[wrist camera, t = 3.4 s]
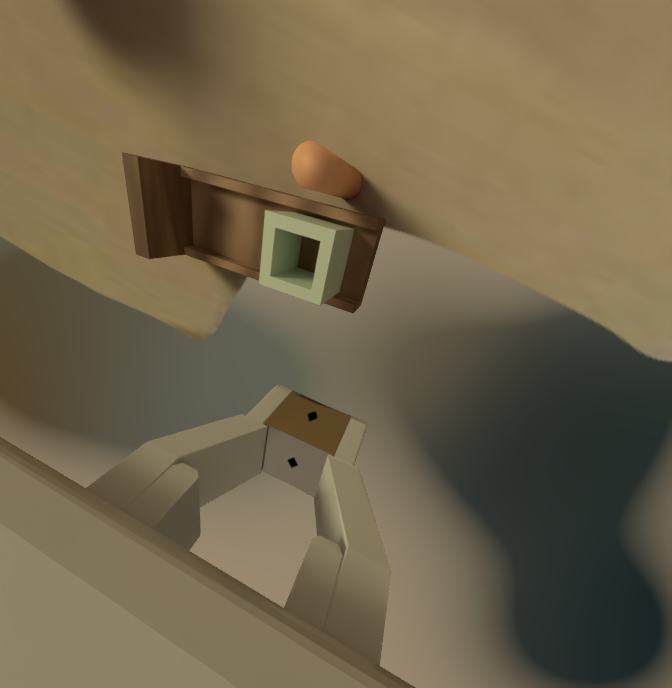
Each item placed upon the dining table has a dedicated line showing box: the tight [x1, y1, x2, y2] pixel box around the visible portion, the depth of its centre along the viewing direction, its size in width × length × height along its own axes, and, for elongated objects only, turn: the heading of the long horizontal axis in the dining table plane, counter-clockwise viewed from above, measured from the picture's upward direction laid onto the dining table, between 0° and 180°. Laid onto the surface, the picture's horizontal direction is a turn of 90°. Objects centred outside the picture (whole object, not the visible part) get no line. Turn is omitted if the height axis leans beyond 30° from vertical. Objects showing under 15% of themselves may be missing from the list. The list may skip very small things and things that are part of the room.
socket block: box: [259, 210, 355, 305], centre depth 27 cm, size 7×7×6 cm
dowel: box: [292, 141, 362, 199], centre depth 24 cm, size 3×3×10 cm
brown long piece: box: [122, 152, 385, 313], centre depth 30 cm, size 26×10×8 cm, turn 76°
